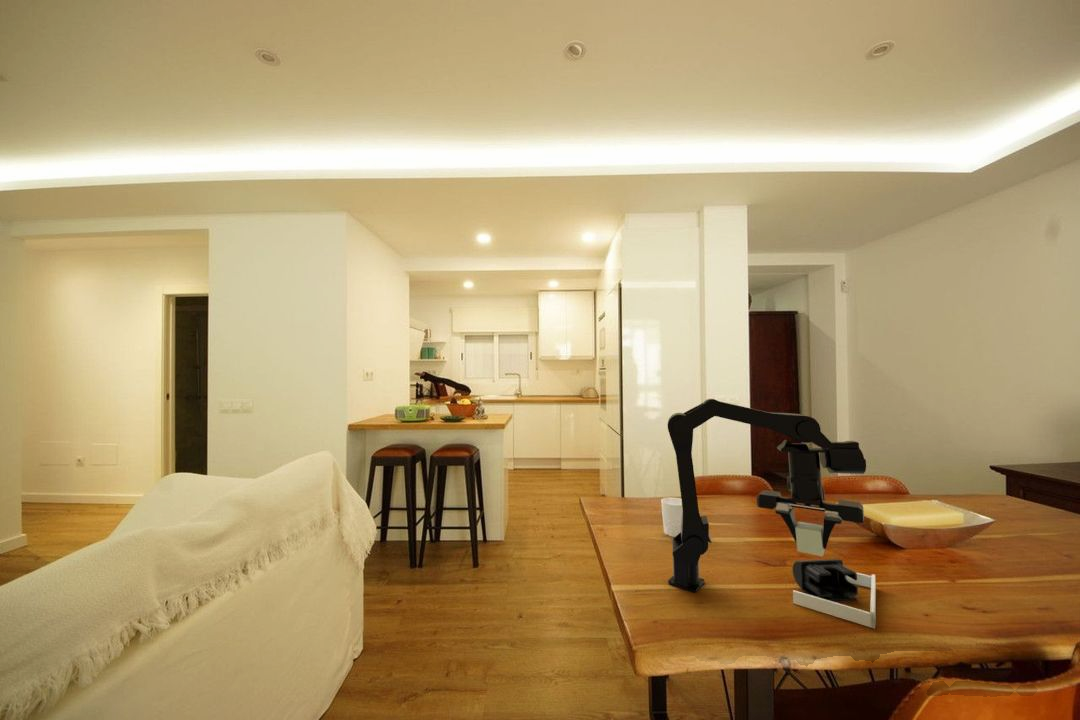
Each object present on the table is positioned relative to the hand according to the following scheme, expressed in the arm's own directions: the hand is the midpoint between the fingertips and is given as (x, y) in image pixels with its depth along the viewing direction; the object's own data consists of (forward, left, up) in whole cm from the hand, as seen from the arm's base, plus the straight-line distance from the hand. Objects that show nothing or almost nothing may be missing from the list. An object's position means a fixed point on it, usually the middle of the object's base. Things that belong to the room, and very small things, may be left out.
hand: (810, 545), depth 83 cm
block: (0, 0, -1) cm, 1 cm away
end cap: (+6, -1, -12) cm, 14 cm away
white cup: (+18, +38, -12) cm, 43 cm away
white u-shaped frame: (+6, -3, -12) cm, 14 cm away
